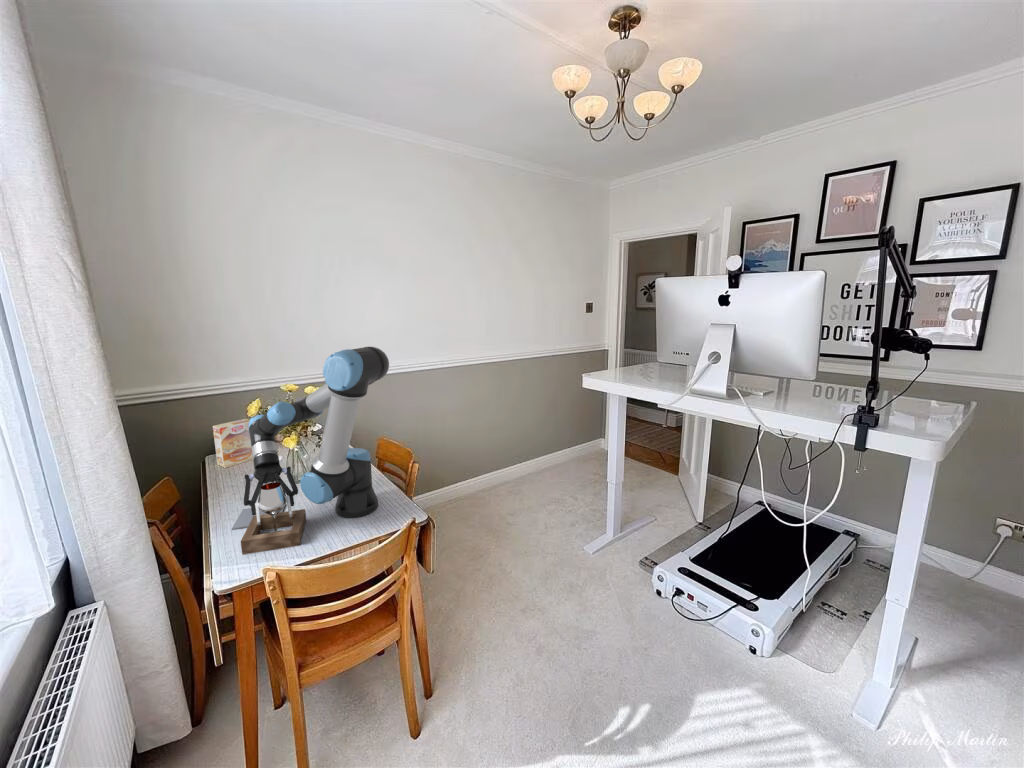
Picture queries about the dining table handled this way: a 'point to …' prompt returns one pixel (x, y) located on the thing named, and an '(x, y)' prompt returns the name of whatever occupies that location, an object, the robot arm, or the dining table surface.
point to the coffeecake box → (232, 443)
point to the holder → (274, 540)
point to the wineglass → (272, 500)
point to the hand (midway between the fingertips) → (275, 519)
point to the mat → (246, 518)
